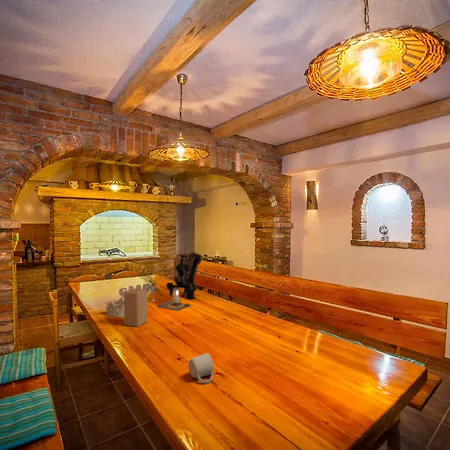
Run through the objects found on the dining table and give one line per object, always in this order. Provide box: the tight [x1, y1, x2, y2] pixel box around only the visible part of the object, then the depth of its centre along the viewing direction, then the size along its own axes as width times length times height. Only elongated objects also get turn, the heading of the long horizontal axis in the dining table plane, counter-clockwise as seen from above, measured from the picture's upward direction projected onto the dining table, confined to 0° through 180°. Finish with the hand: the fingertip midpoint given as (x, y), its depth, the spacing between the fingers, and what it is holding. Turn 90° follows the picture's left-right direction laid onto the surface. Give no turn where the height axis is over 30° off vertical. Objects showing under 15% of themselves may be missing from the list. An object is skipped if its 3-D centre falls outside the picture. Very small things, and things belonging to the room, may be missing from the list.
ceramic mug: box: [188, 352, 215, 384], centre depth 113 cm, size 11×8×8 cm
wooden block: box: [123, 287, 148, 328], centre depth 173 cm, size 10×10×20 cm
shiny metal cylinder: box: [172, 288, 181, 306], centre depth 204 cm, size 4×4×13 cm
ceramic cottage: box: [105, 293, 124, 318], centre depth 193 cm, size 16×16×15 cm
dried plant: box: [127, 259, 163, 294], centre depth 249 cm, size 30×31×45 cm
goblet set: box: [118, 283, 157, 303], centre depth 218 cm, size 28×6×13 cm, turn 123°
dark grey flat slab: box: [156, 300, 192, 312], centre depth 209 cm, size 14×20×3 cm
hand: (176, 297), depth 204 cm, fingers open, 9 cm apart
